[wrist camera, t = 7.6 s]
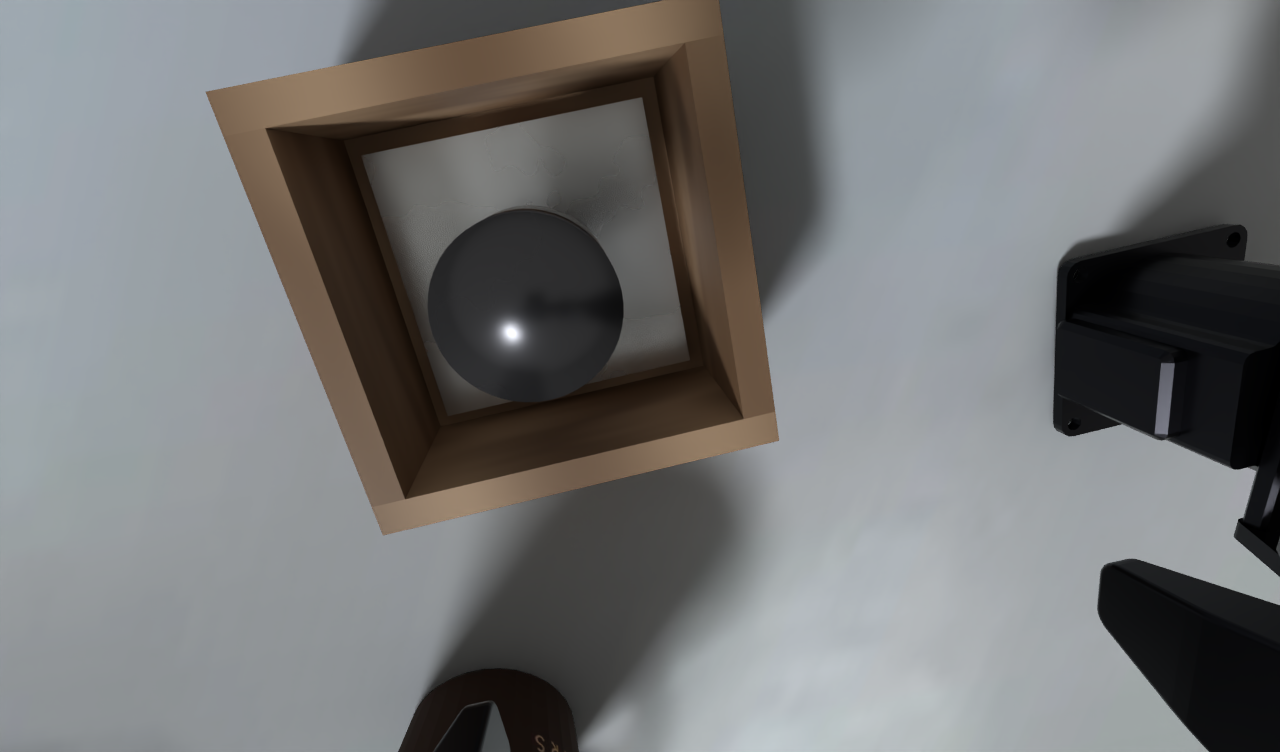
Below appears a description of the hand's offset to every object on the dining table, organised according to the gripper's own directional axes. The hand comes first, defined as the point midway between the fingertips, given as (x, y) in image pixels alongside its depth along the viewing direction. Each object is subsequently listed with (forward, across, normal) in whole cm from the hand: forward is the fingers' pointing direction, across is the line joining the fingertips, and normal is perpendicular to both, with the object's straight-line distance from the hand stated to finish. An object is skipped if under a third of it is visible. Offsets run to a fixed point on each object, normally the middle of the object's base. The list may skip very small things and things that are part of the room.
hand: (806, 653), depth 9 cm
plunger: (+11, +3, -5) cm, 13 cm away
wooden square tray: (+12, +3, -5) cm, 14 cm away
